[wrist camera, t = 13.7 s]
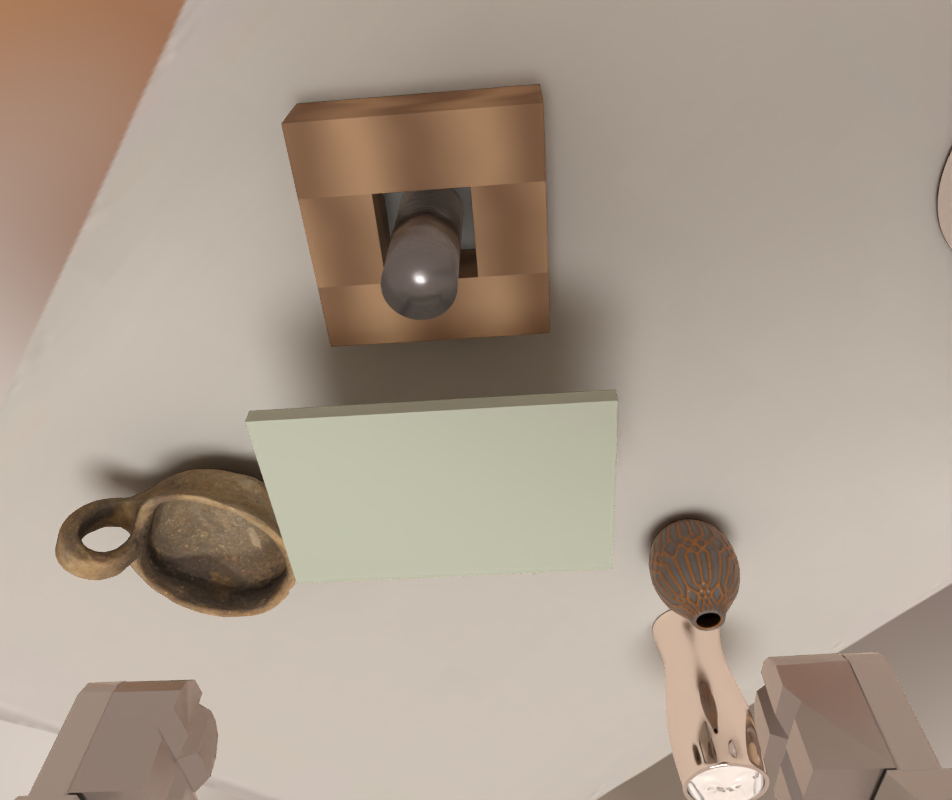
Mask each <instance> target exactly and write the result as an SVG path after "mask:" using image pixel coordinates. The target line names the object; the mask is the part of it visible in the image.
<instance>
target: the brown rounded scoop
mask: <svg viewBox="0 0 952 800" xmlns="http://www.w3.org/2000/svg"><path fill="white" fill-rule="evenodd" d="M103 527H122V528H123V529H125V530H126V531H128V532H129V533H130V534H131V535H130V537H129V538H128V540H127V541H126V542H125V543H124V544H122V545H121V546H120V547H118V548H117V549H115V550H112V551H108V552H96V551H93V550H91V549H89V548H87V547H86V546H85V545H84V544H83V543H82V541H81V539H82V538H83V537H84V536H85V535H87V534H88V533H90V532H93V531H95V530H97V529H99V528H103ZM55 552H56V558H57V560H58V562H59V564H60V565H61V566H62V567H63V569H65V570H66V571H68V572H69V573H71V574H73V575H75V576H77V577H80V578H84V579H88V580H102V579H107V578H110V577H114V576H116V575H118V574H120V573H121V572H122V571H123V570H124V569H125V568H126V567H128V566H129V565H130V566H131V567H132V568H133V569H134V570H135V572H136V573H137V574H138V575H139V576H140V577H141V578H142V579H143V580H144V581H145V582H146V583H147V584H148V585H149V586H150V587H151V588H153V589H154V590H156V591H157V592H158V593H160V594H162V595H164V596H165V597H167V598H168V599H170V600H171V601H173V602H174V603H176V604H179V605H181V606H183V607H186V608H189V609H191V610H194V611H197V612H200V613H204V614H208V615H214V616H221V617H239V616H252V615H258V614H261V613H264V612H266V611H268V610H270V609H272V608H274V607H275V606H277V605H278V604H279V603H280V602H281V601H282V600H283V599H284V598H286V596H287V595H288V594H289V590H290V589H291V588H292V587H293V586H294V584H295V581H296V579H295V576H294V573H293V570H292V567H291V564H290V561H289V557H288V554H287V551H286V548H285V545H284V542H283V539H282V536H281V533H280V529H279V526H278V523H277V520H276V517H275V514H274V511H273V508H272V505H271V501H270V498H269V495H268V492H267V489H266V486H265V484H264V483H263V482H261V481H260V480H258V479H256V478H254V477H251V476H248V475H243V474H237V473H233V472H229V471H224V470H218V469H195V470H188V471H185V472H181V473H178V474H175V475H173V476H170V477H168V478H166V479H164V480H163V481H161V482H160V483H158V484H157V485H155V486H154V487H152V488H150V489H148V490H146V491H144V492H143V493H140V494H138V495H135V496H132V497H128V498H109V499H102V500H97V501H94V502H91V503H89V504H86V505H84V506H82V507H81V508H79V509H77V510H76V511H75V512H73V513H72V514H71V515H69V517H68V518H67V519H66V520H65V521H64V523H63V524H62V526H61V528H60V531H59V534H58V539H57V543H56V548H55Z"/></svg>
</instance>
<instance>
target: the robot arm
mask: <svg viewBox="0 0 952 800" xmlns="http://www.w3.org/2000/svg"><path fill="white" fill-rule="evenodd" d="M938 217H939V222H940V226H941V230H942V233H943V235H944V237H945V239H946V241H947V243H948V245H949V246H950V248H951V249H952V151H951V154H950V156H949V158H948V160H947V163H946V165H945V168H944V171H943V174H942V178H941V182H940V187H939V193H938ZM761 674H762V677H763V680H764V683H765V685H764V686H763V687H762V688H760V689H759V690H758V691H757V692H756V698H755V704H754V711H755V727H756V732H757V737H758V741H759V745H760V748H761V752H762V755H763V759H764V760H765V761H766V762H767V763H768V764H769V765H770V766H771V767H772V768H774V770H775V771H777V772H778V777H777V781H776V784H775V788H774V795H775V798H776V800H952V768H942V767H941V765H940V763H939V761H938V760H937V758H936V755H935V753H934V751H933V750H932V748H931V746H930V744H929V742H928V740H927V738H926V736H925V734H924V732H923V730H922V728H921V726H920V724H919V722H918V720H917V718H916V716H915V714H914V712H913V710H912V708H911V706H910V704H909V702H908V700H907V698H906V696H905V694H904V692H903V690H902V688H901V687H900V684H899V682H898V680H897V678H896V676H895V674H894V672H893V670H892V668H891V666H890V665H889V662H888V661H887V660H886V659H885V658H884V657H883V656H882V655H881V654H880V653H875V652H874V653H873V652H872V653H855V654H854V653H853V654H838V653H832V654H814V655H796V656H778V657H768V658H767V659H766V660H765V661H764V663H763V667H762V670H761ZM201 695H202V692H201V690H200V688H199V686H198V685H197V683H196V681H195V680H171V681H137V682H126V681H120V682H97V683H88V684H87V685H86V686H85V687H84V688H83V690H82V691H81V692H80V693H79V694H78V695H77V697H76V699H75V701H74V704H73V706H72V708H71V710H70V712H69V714H68V716H67V718H66V720H65V722H64V724H63V726H62V728H61V730H60V732H59V734H58V736H57V738H56V740H55V742H54V745H53V746H52V748H51V750H50V753H49V755H48V757H47V759H46V761H45V763H44V765H43V767H42V769H41V771H40V773H39V775H38V777H37V779H36V781H35V783H34V785H33V787H32V789H31V791H30V793H29V795H28V796H18V797H17V798H16V799H15V800H198V799H197V796H196V793H195V792H196V791H197V790H198V789H199V788H200V787H201V786H202V785H203V784H204V783H205V782H206V781H207V780H208V778H209V777H210V776H211V773H212V769H213V765H214V762H215V758H216V751H217V740H218V732H217V726H216V721H215V718H214V716H213V714H212V712H211V711H210V710H209V709H207V708H205V707H204V706H202V705H200V704H199V701H200V698H201Z"/></svg>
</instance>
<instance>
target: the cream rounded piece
mask: <svg viewBox="0 0 952 800" xmlns="http://www.w3.org/2000/svg"><path fill="white" fill-rule="evenodd" d="M652 632H653V637H654V640H655V642H656V644H657V647H658V649H659V651H660V653H661V656H662V659H663V663H664V668H665V681H666V715H667V727H668V733H669V739H670V744H671V748H672V752H673V756H674V760H675V763H676V767H677V770H678V774H679V777H680V780H681V784H682V787H683V793H684V795H685V796H686V798H687V799H688V800H756V799H757V798H759V797H760V796H762V795H763V794H764V793H765V792H766V790H767V789H768V786H769V778H768V775H767V771H766V766H765V762H764V759H763V755H762V752H761V748H760V745H759V741H758V737H757V732H756V727H755V723H754V720H753V717H752V714H751V712H750V709H749V707H748V705H747V703H746V701H745V698H744V696H743V694H742V692H741V690H740V688H739V686H738V684H737V683H736V681H735V679H734V677H733V675H732V673H731V671H730V669H729V667H728V665H727V663H726V660H725V658H724V655H723V651H722V647H721V641H720V628H717V629H715V630H711V631H702V630H699V629H697V628H695V627H694V626H693V625H692V624H691V622H690V621H688V620H687V619H685V618H683V617H682V616H680V615H678V614H677V613H675V612H674V611H672V610H670V611H668V612H666V613H664V614H663V615H661V616H660V617H659V618H658V619H657V620H656V621H655V623H654V625H653V630H652Z"/></svg>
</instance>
